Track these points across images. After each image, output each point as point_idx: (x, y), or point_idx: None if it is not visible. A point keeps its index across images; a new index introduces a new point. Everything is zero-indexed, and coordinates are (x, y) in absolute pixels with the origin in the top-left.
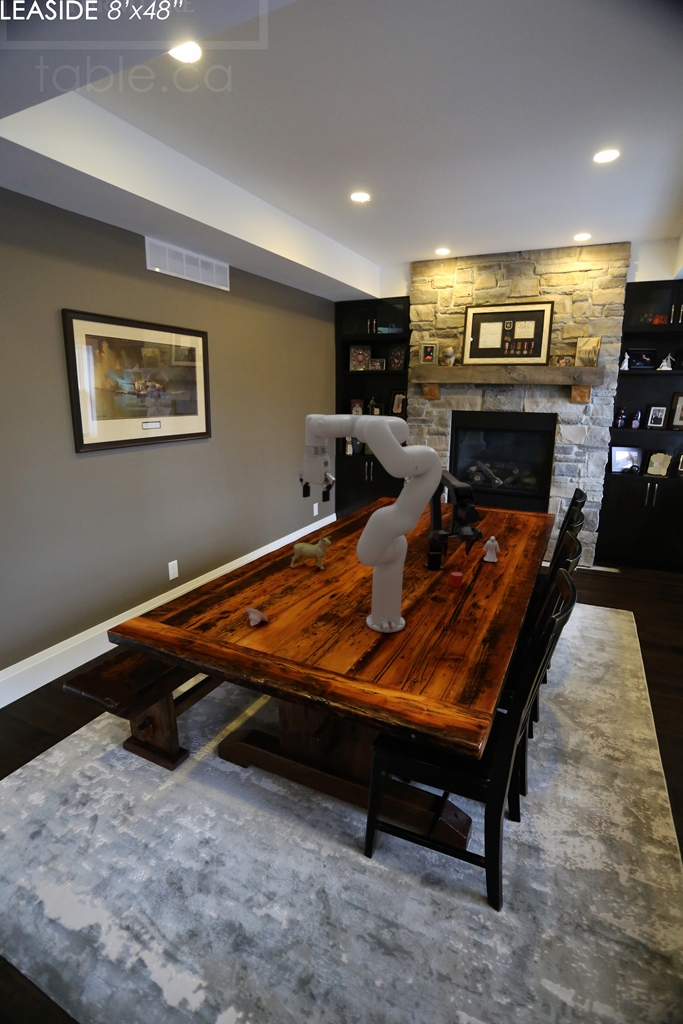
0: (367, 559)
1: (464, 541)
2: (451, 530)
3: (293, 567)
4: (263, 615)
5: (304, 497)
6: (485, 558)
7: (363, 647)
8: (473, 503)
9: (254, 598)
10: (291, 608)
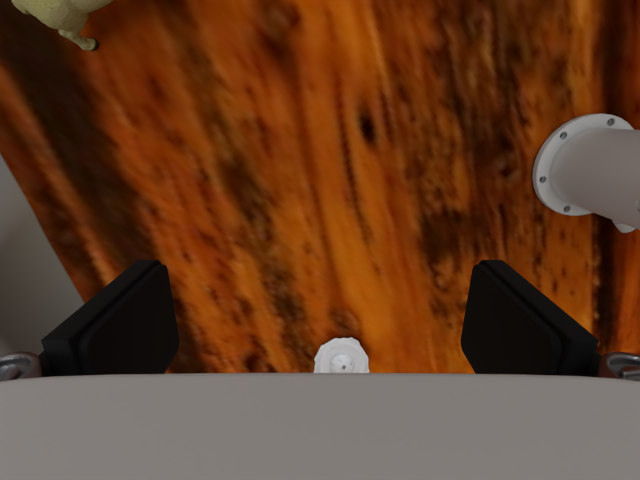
0: None
1: None
2: None
3: (96, 45)
4: (365, 369)
5: (173, 336)
6: None
7: (581, 282)
8: None
9: (230, 284)
10: (339, 261)
